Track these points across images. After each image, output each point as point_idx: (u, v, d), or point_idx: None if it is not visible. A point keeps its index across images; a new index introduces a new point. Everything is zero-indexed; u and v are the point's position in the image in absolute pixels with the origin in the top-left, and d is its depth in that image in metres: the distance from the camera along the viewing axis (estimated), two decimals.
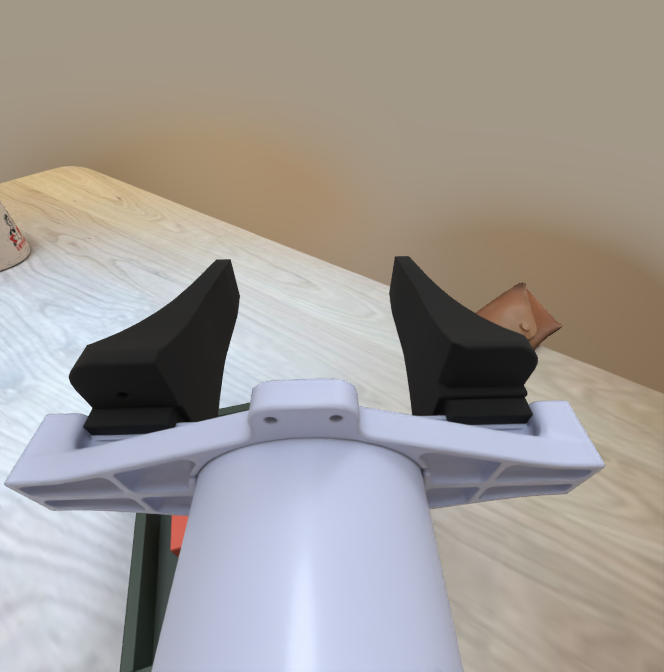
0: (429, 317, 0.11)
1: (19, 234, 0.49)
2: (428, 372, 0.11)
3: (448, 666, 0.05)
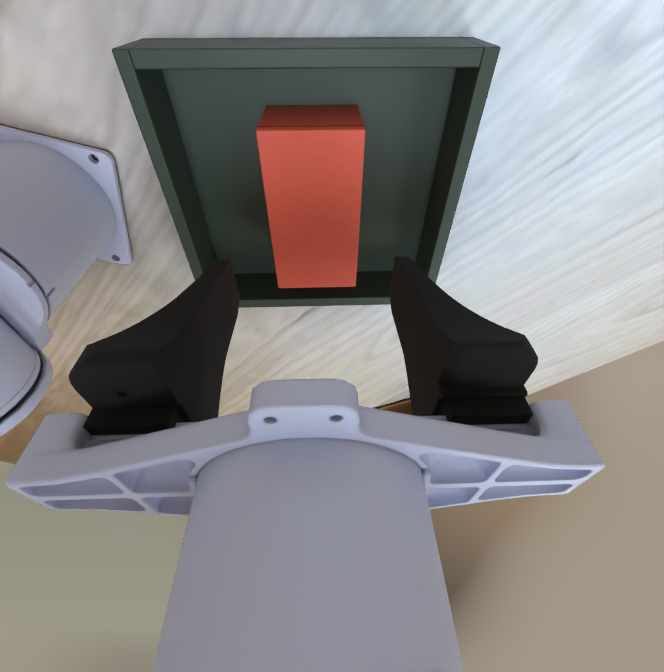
0: (429, 317, 0.11)
1: None
2: (428, 372, 0.11)
3: (448, 666, 0.05)
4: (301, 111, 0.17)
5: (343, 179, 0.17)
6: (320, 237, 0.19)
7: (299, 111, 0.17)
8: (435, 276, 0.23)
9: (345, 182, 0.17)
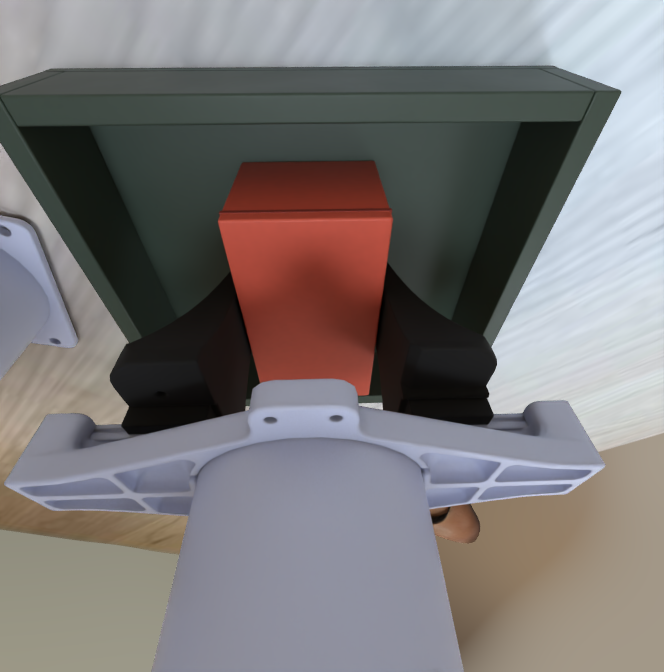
0: (394, 318, 0.11)
1: None
2: (394, 373, 0.11)
3: (448, 666, 0.05)
4: (292, 175, 0.12)
5: (355, 281, 0.11)
6: (320, 346, 0.13)
7: (289, 175, 0.12)
8: None
9: (358, 285, 0.11)
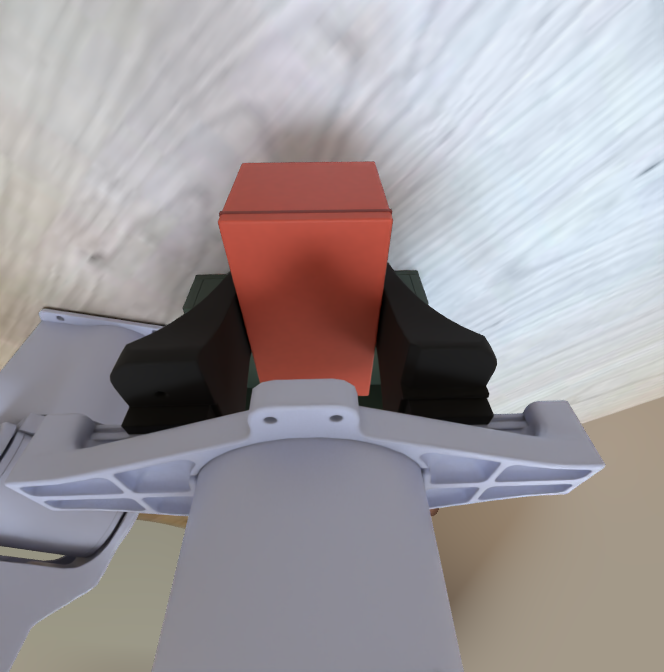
0: (394, 318, 0.11)
1: None
2: (394, 373, 0.11)
3: (448, 666, 0.05)
4: (292, 176, 0.12)
5: (355, 282, 0.11)
6: (320, 347, 0.13)
7: (289, 176, 0.12)
8: None
9: (358, 285, 0.11)
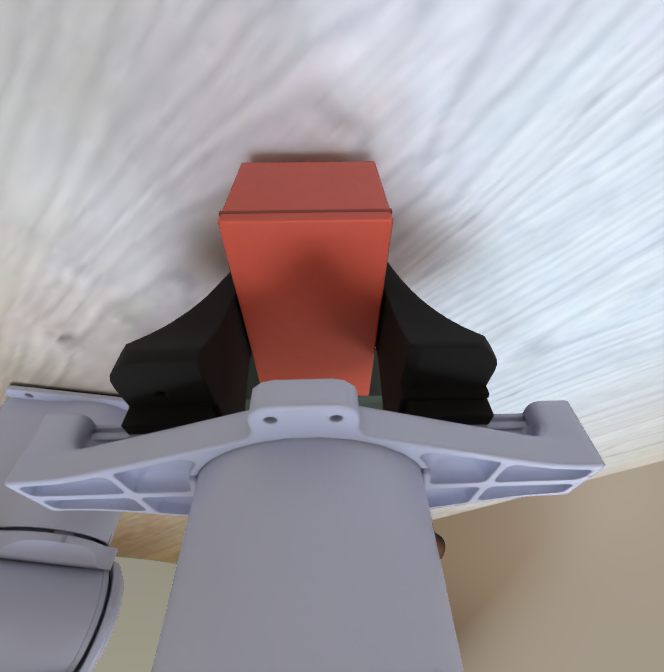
0: (394, 318, 0.11)
1: None
2: (394, 373, 0.11)
3: (448, 666, 0.05)
4: (292, 175, 0.12)
5: (355, 281, 0.11)
6: (320, 347, 0.13)
7: (289, 175, 0.12)
8: None
9: (358, 285, 0.11)
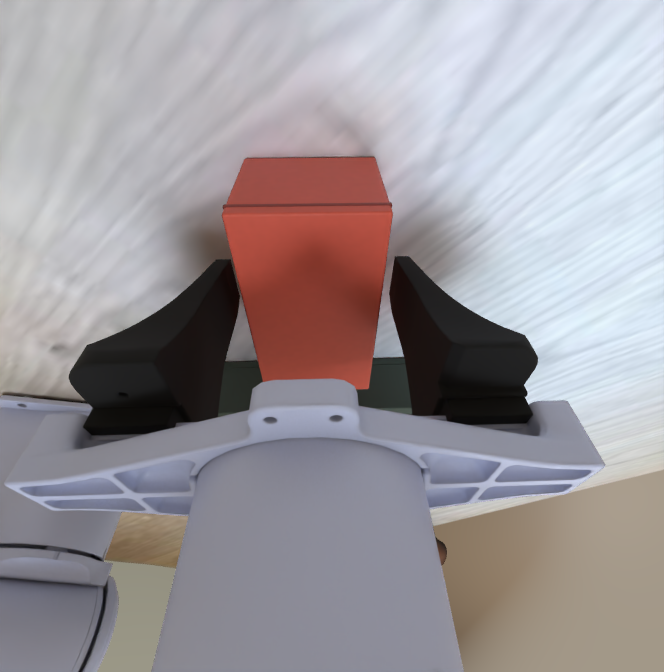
0: (429, 317, 0.11)
1: None
2: (428, 372, 0.11)
3: (448, 666, 0.05)
4: (294, 171, 0.12)
5: (356, 274, 0.11)
6: (321, 339, 0.14)
7: (291, 171, 0.12)
8: None
9: (359, 278, 0.12)
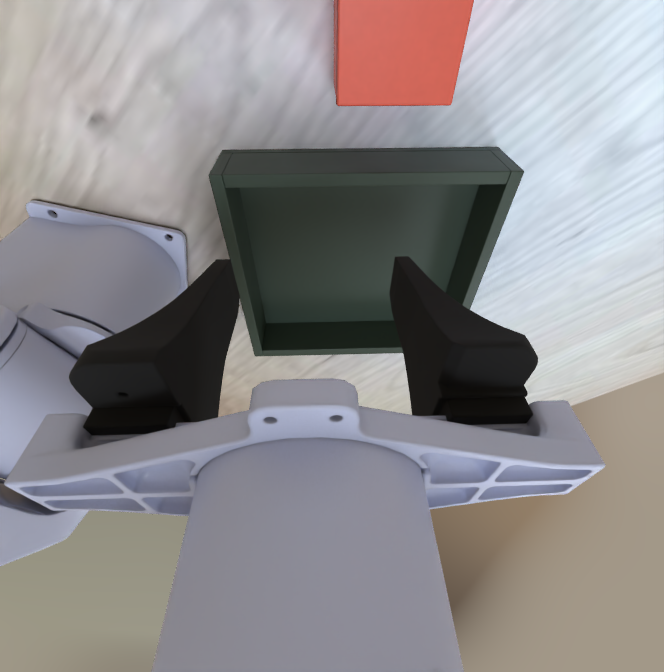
0: (429, 317, 0.11)
1: None
2: (428, 372, 0.11)
3: (448, 666, 0.05)
4: None
5: None
6: None
7: None
8: None
9: None
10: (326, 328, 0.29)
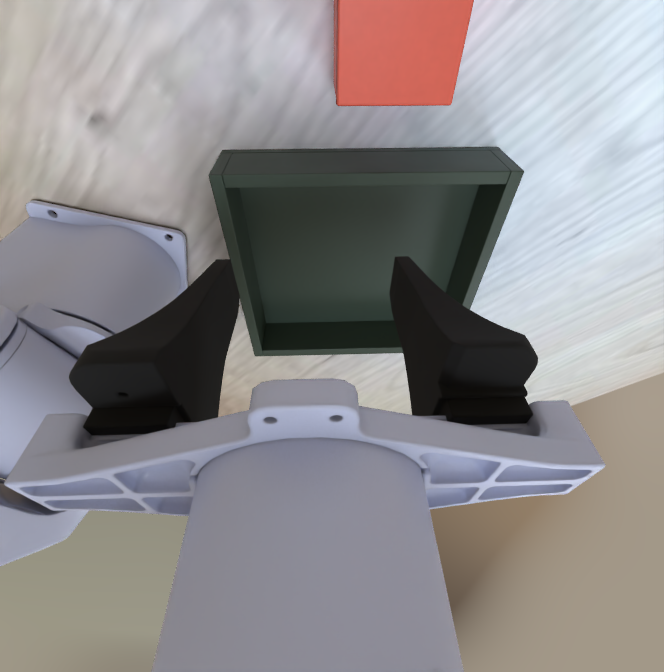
0: (429, 317, 0.11)
1: None
2: (428, 372, 0.11)
3: (448, 666, 0.05)
4: None
5: None
6: None
7: None
8: None
9: None
10: (326, 328, 0.29)
